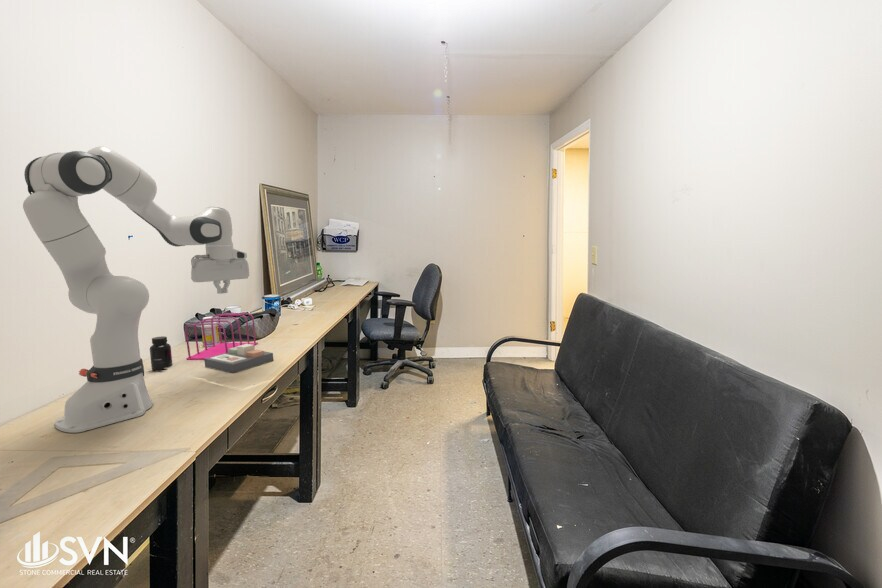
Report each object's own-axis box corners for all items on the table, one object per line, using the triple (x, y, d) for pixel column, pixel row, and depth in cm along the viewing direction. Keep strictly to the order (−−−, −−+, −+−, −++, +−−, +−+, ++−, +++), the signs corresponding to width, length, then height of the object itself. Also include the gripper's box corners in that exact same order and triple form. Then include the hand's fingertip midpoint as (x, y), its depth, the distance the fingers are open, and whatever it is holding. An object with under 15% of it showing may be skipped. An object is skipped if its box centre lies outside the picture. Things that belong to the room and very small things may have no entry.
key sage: (236, 360, 178) (235, 350, 177) (229, 359, 180) (228, 348, 179) (246, 357, 181) (245, 347, 181) (239, 356, 184) (238, 346, 183)
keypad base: (233, 375, 164) (232, 363, 163) (205, 369, 173) (204, 357, 172) (273, 363, 178) (272, 351, 178) (245, 357, 187) (244, 346, 186)
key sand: (244, 358, 175) (243, 347, 174) (237, 356, 177) (236, 346, 176) (254, 355, 178) (254, 344, 178) (247, 353, 181) (246, 343, 180)
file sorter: (186, 363, 183) (181, 323, 181) (220, 346, 208) (217, 311, 205) (228, 362, 182) (224, 323, 179) (258, 346, 206) (255, 311, 204)
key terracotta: (254, 364, 172) (253, 353, 171) (247, 362, 174) (246, 352, 174) (264, 361, 176) (263, 350, 175) (257, 359, 178) (256, 349, 177)
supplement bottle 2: (214, 342, 214) (212, 315, 212) (222, 344, 210) (219, 316, 209) (200, 346, 209) (197, 318, 207) (208, 348, 205) (205, 319, 203)
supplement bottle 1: (153, 372, 170) (150, 340, 169) (150, 369, 176) (146, 337, 174) (175, 368, 175) (171, 337, 173) (170, 365, 180) (167, 334, 178)
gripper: (196, 255, 154) (199, 296, 155) (250, 253, 171) (252, 291, 172) (185, 255, 157) (188, 295, 159) (240, 253, 174) (242, 290, 176)
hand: (222, 293), depth 166 cm, fingers closed
